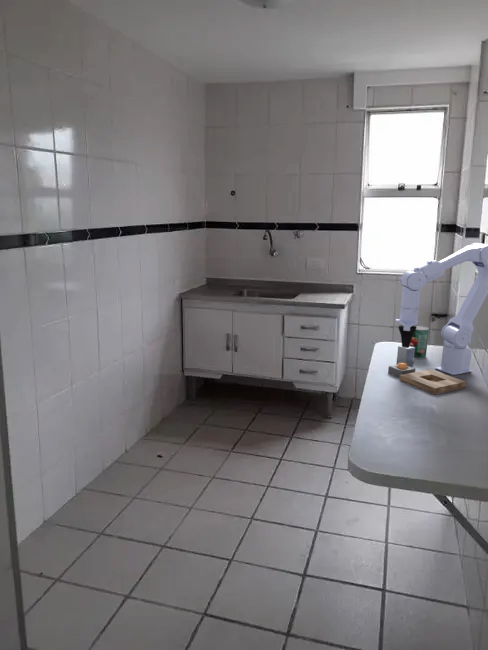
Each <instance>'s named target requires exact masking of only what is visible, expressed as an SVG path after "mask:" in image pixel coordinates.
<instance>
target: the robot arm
mask: <svg viewBox="0 0 488 650" xmlns="http://www.w3.org/2000/svg"><path fill="white" fill-rule="evenodd" d="M465 262H472V264H474V266H475V268H476V270H477V276H476V278H475V280H474V281H473V284H472V286H471V287H470V289H469V291H468V293H467V295H466V296H465V298H464V301H463V302H462V304H461V306H460V308H459V310H458V312H457V313H456V315H455V316H454V317H452V318H450V319H449V321H448V322H447V324H445V325H444V326H442V329H441V332H440V334H441V338H442V339H443V345H442V346H443V347H442V354H441V364H440V366H436V367H434V369H435V370H438V371H440V372H444V373H447V374H450V375H453V376H456V375H461V374H465V373H471V372H472V369H470V367H471V361H472V350H471V348H470V347H469V345H470V343H471V342H472V341H471V340H472V334H473V333H474V325H473V321H475V319H476V318H475V317H476V316H477V314H478V312H479V310H480V309H481V308H482V305H483V303H484V301H485V299H486V298H487V296H488V244H487V243H481V242H473V243H471V244H469V245H465V246H464V247H463V248H461V249H459V250H458V251H456V252H455V253H452V254H450V255H448V256H447V257H445V258H443V259H441V260H436V259H434V260H431V259H429V260H427V261H426V263H425V264H423V265H421V266H416V267H414V268H413V270H407V271H405V272H404V273H403V274H402V275H401V277H400V278H399V283H400V285H401V289H402V290H401V300H400V307H399V308H400V309H399V310H400V311H399V318H395V322H396V323H398V324H399V325H398V331H399V333H400V338H401V339H400V340H401V346H402V347H403V348H409V346H410V342H411V339H412V336H413V334H414V332H415V331H416V326H414V325H418V323H419V321H418V316H419V307H420V297H421V296H420V295H421V289H423V287H424V286H425V285H426V284H427V283H430V282H431V281H433V280H435V279H439V278H440V277H442V276H443V275H444V272H445V271H446V270H448V269H451V268H454V267H456V266H457V265H461V264H463V263H465ZM400 324H401V325H400Z"/></svg>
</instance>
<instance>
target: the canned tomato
mask: <svg viewBox="0 0 488 650" xmlns="http://www.w3.org/2000/svg"><path fill="white" fill-rule="evenodd" d="M414 326H416V331H415V332H414V334H413V336H412V339H411V342H410V346H411V347H414V348H415V353H414V359H415V358H417V360H418V359H419V360H423V359H426V358H427V349H428V340H429V332H430V328H429V327H428V326H425V325H421V324H419V325H418V324H416V325H414Z"/></svg>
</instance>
